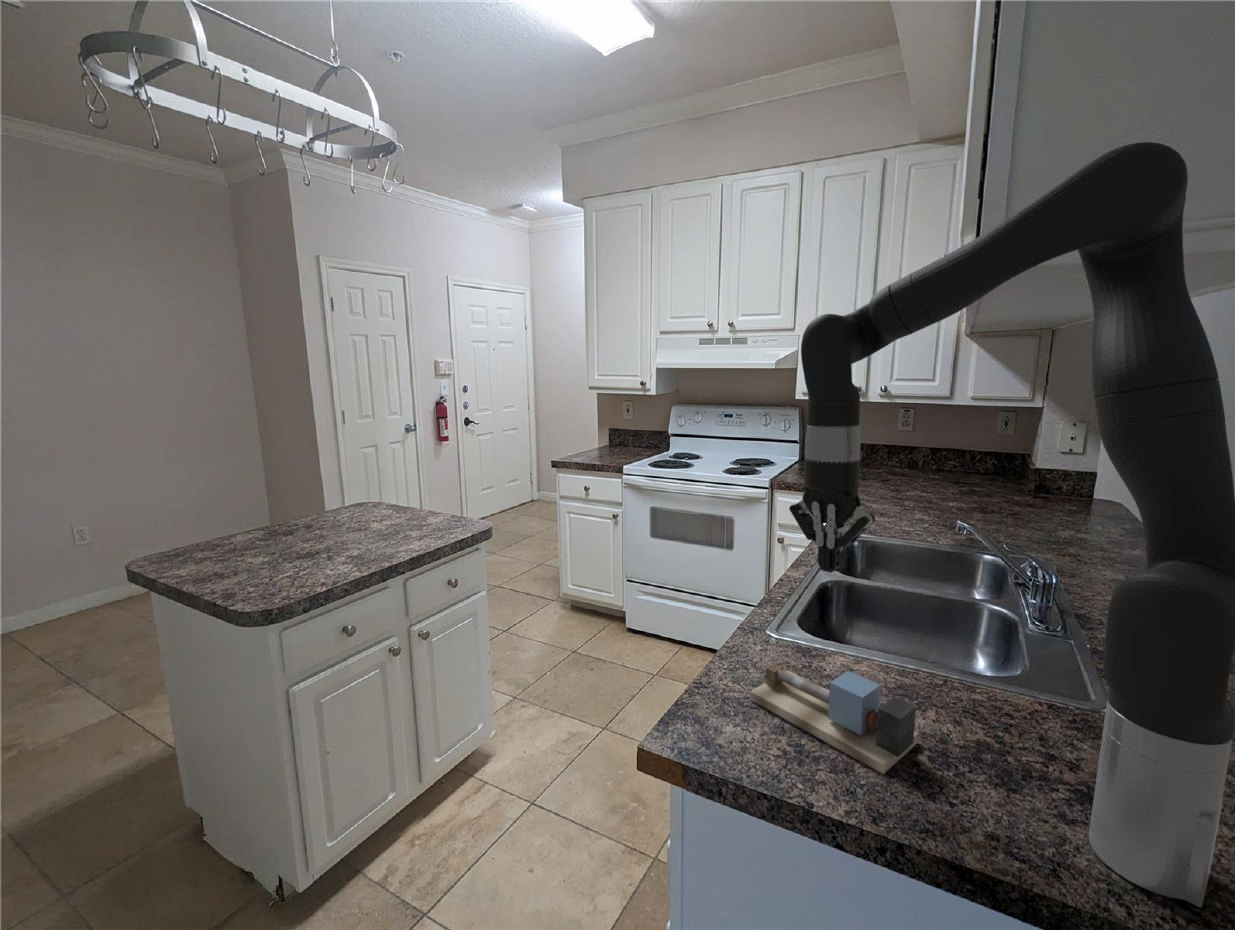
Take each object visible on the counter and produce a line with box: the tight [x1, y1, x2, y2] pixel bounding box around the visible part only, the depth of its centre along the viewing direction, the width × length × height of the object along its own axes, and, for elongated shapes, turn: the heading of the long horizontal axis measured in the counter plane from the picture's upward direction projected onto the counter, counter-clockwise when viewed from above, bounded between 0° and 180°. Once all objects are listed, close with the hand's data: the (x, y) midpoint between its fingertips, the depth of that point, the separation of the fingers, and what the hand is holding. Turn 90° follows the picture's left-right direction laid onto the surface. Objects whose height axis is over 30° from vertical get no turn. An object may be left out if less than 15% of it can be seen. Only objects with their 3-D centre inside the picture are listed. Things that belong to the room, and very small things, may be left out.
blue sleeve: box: [828, 670, 881, 735], centre depth 81 cm, size 5×5×6 cm
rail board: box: [749, 663, 920, 775], centre depth 84 cm, size 22×10×7 cm, turn 38°
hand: (828, 570), depth 83 cm, fingers closed
